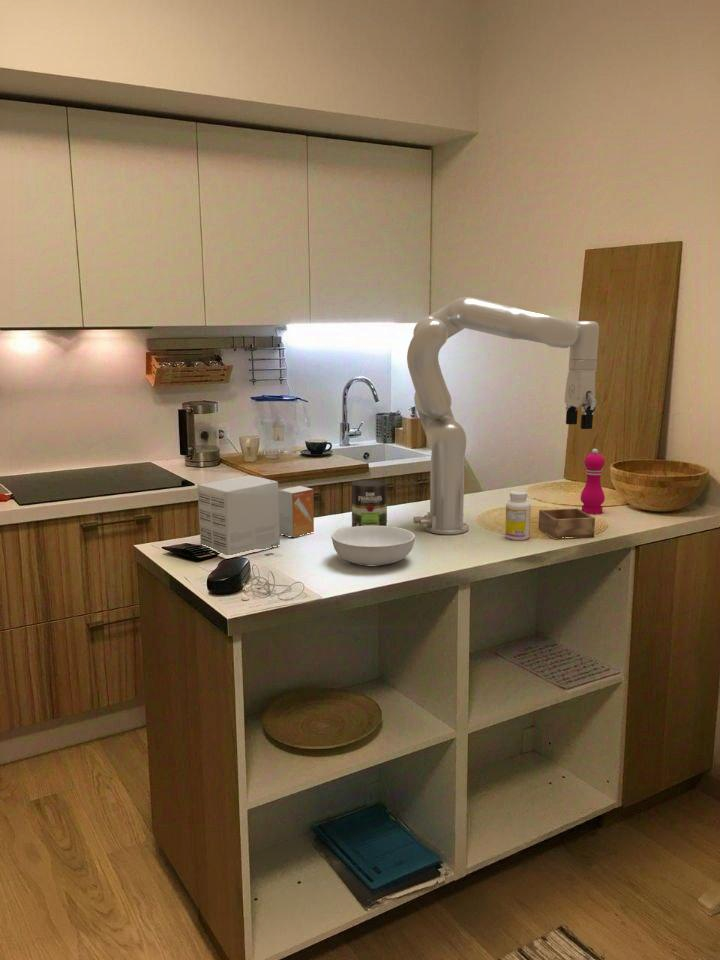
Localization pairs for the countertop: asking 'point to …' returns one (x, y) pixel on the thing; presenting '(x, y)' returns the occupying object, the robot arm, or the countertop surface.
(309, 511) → the small box
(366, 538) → the serving bowl
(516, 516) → the supplement bottle
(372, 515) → the coffee can
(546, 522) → the crate
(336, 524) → the countertop surface
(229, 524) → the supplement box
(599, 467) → the pepper mill
